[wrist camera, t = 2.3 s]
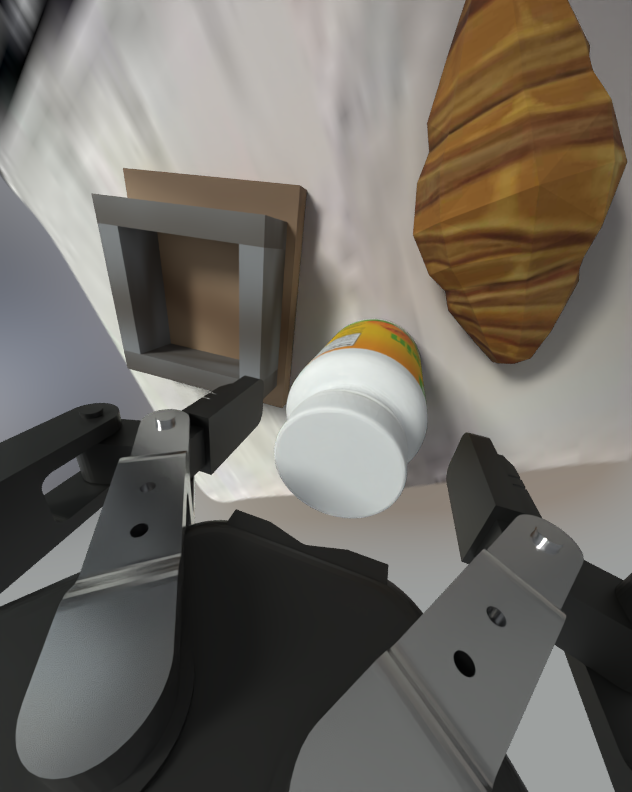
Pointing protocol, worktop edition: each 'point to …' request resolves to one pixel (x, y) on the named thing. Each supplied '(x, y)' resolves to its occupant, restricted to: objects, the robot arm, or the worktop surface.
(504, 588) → the robot arm
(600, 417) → the worktop surface
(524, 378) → the worktop surface
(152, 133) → the worktop surface
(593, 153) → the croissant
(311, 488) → the supplement bottle
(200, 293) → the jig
